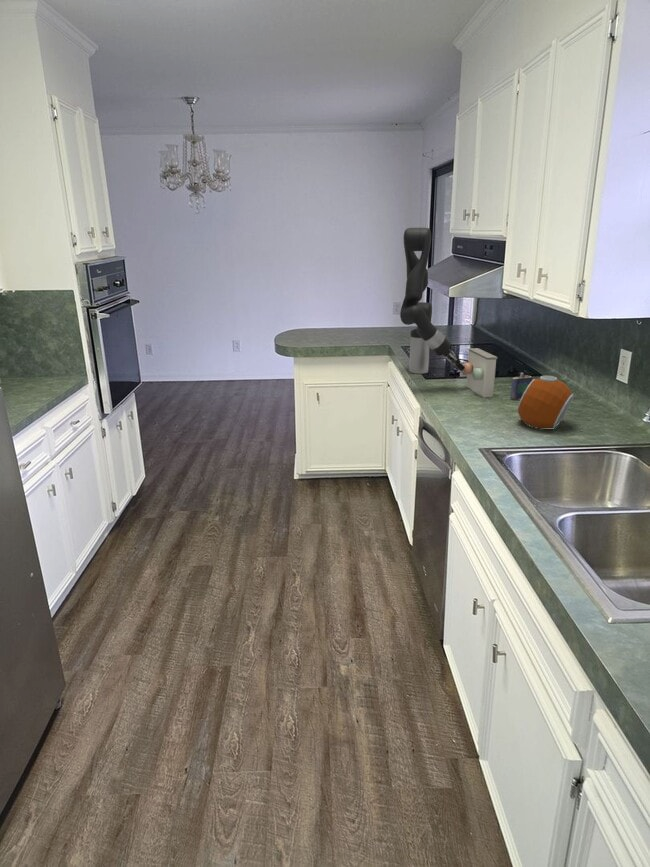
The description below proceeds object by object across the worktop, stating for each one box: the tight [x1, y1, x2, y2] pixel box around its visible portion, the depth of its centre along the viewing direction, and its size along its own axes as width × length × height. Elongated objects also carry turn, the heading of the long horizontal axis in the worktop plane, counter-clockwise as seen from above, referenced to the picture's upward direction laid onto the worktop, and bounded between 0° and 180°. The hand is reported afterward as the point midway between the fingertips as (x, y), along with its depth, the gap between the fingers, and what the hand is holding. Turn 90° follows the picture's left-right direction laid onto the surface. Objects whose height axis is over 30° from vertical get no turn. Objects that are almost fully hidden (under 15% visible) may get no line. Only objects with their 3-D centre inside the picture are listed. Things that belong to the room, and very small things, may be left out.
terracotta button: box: [461, 362, 473, 376], centre depth 251 cm, size 5×8×5 cm, turn 100°
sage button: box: [472, 368, 483, 380], centre depth 242 cm, size 5×8×5 cm, turn 100°
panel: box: [465, 347, 498, 398], centre depth 247 cm, size 19×4×17 cm, turn 10°
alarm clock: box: [516, 375, 574, 429], centre depth 206 cm, size 19×18×17 cm
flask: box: [509, 372, 533, 400], centre depth 238 cm, size 9×3×11 cm, turn 109°
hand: (462, 369), depth 250 cm, fingers closed
